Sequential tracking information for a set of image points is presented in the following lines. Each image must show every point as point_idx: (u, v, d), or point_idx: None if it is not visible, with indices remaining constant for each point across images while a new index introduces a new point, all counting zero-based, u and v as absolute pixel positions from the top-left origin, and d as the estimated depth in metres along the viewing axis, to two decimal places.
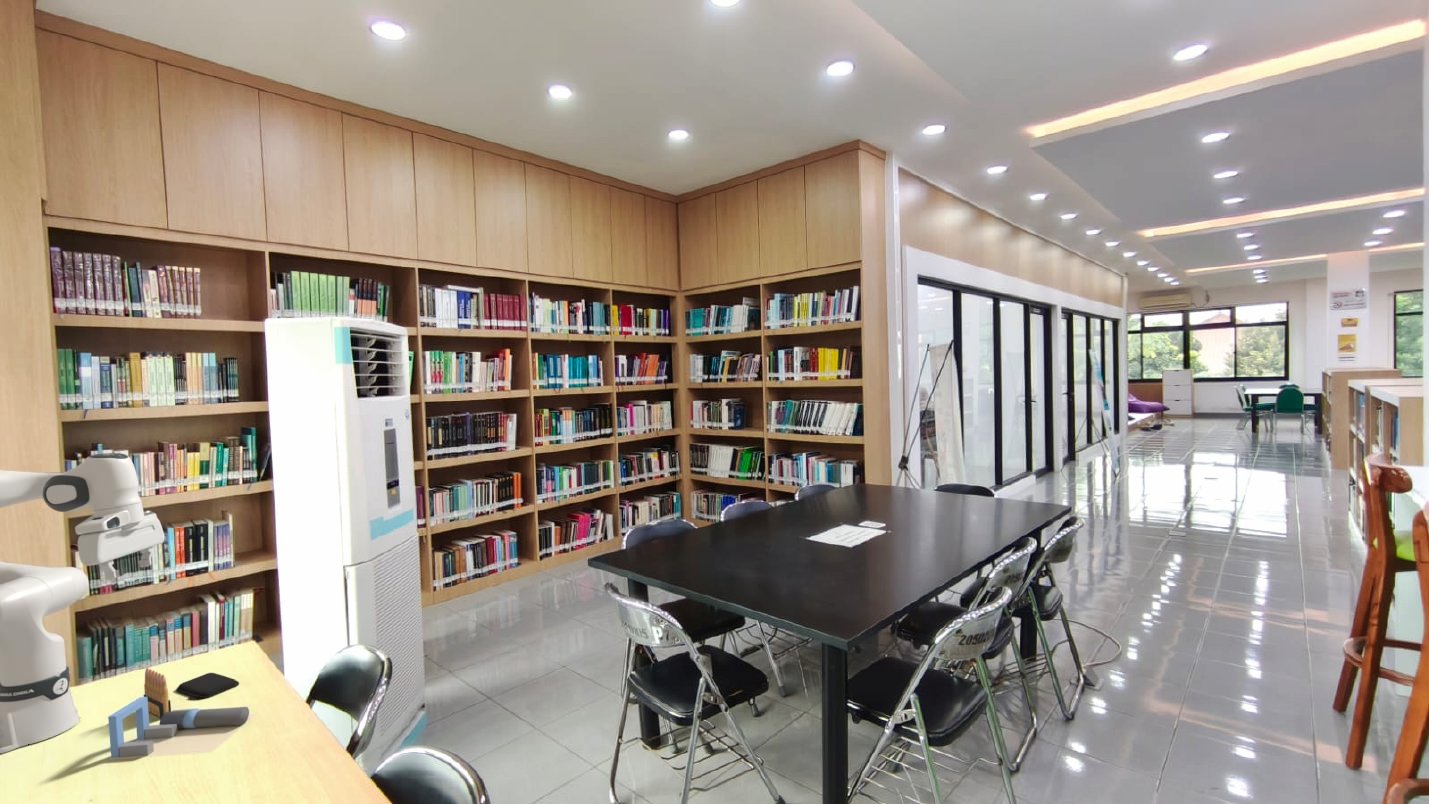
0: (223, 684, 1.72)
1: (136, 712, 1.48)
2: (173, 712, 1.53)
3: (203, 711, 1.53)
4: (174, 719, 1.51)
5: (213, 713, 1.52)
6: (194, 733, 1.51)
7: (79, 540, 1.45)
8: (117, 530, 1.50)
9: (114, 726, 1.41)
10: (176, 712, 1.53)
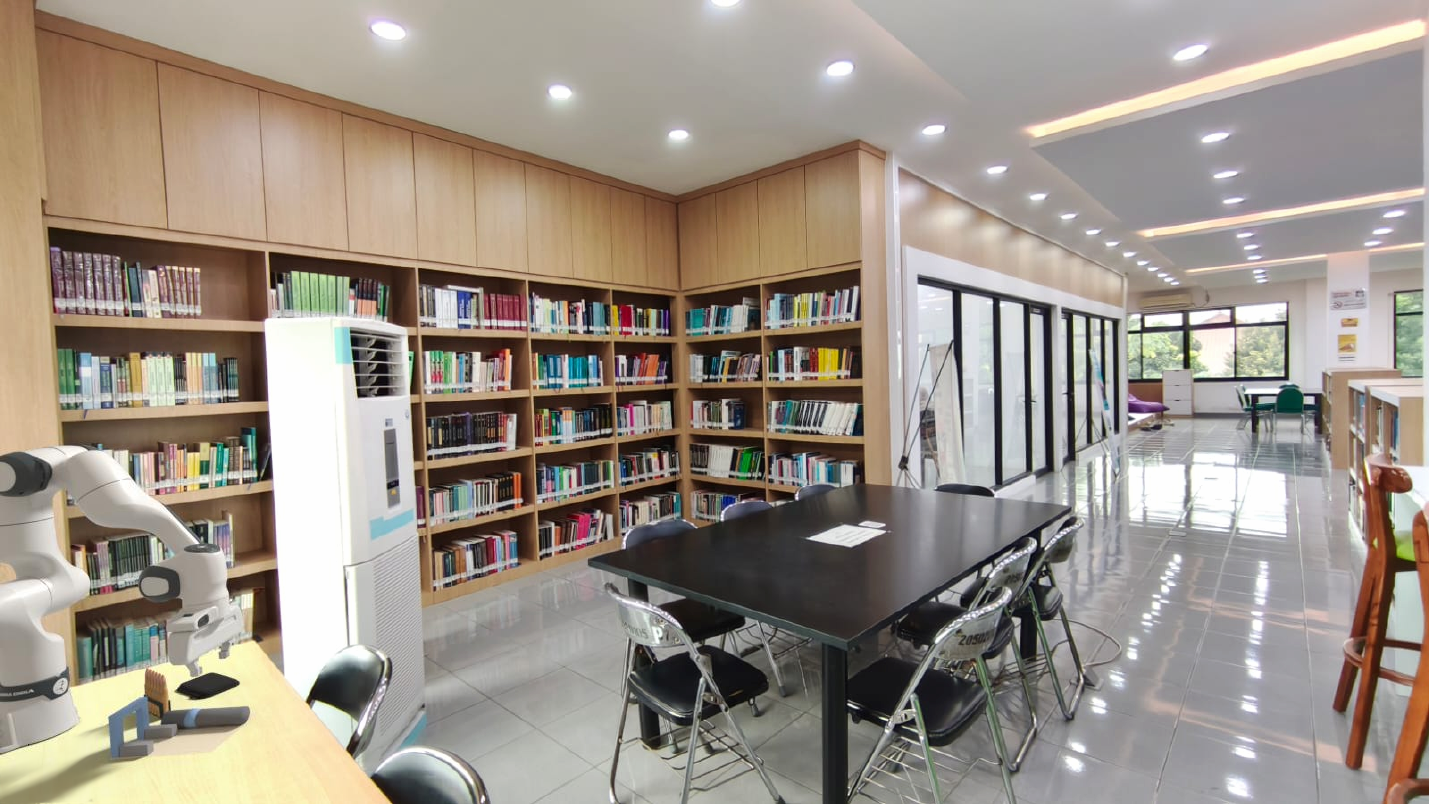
0: (224, 684, 1.72)
1: (136, 712, 1.48)
2: (175, 711, 1.54)
3: (205, 709, 1.54)
4: (176, 717, 1.52)
5: (215, 711, 1.53)
6: (194, 733, 1.51)
7: (169, 639, 1.43)
8: (205, 627, 1.48)
9: (114, 726, 1.41)
10: (178, 710, 1.53)
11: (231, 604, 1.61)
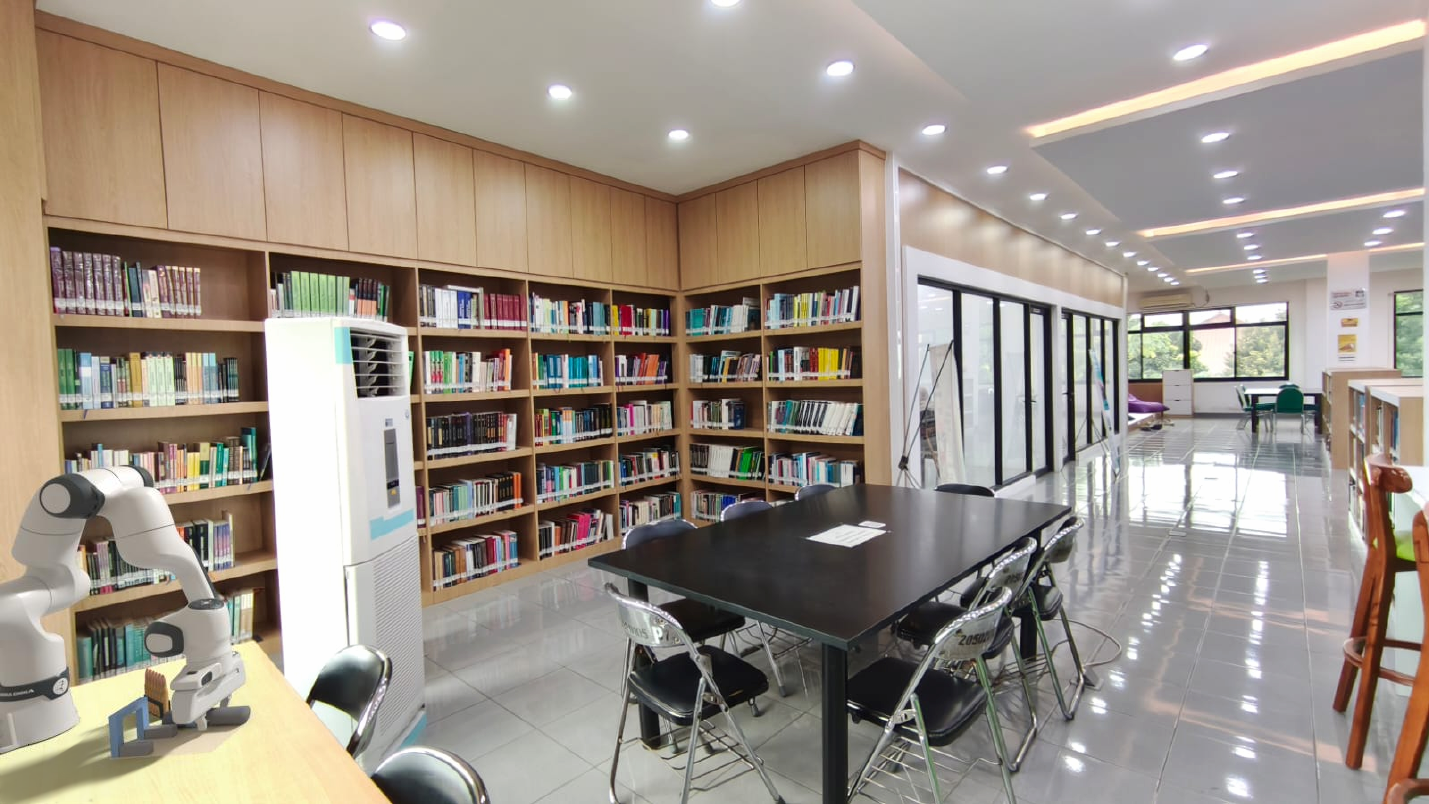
0: None
1: (136, 712, 1.48)
2: None
3: None
4: None
5: (216, 710, 1.54)
6: (194, 733, 1.51)
7: (173, 698, 1.44)
8: (209, 684, 1.49)
9: (114, 726, 1.41)
10: None
11: (234, 657, 1.61)
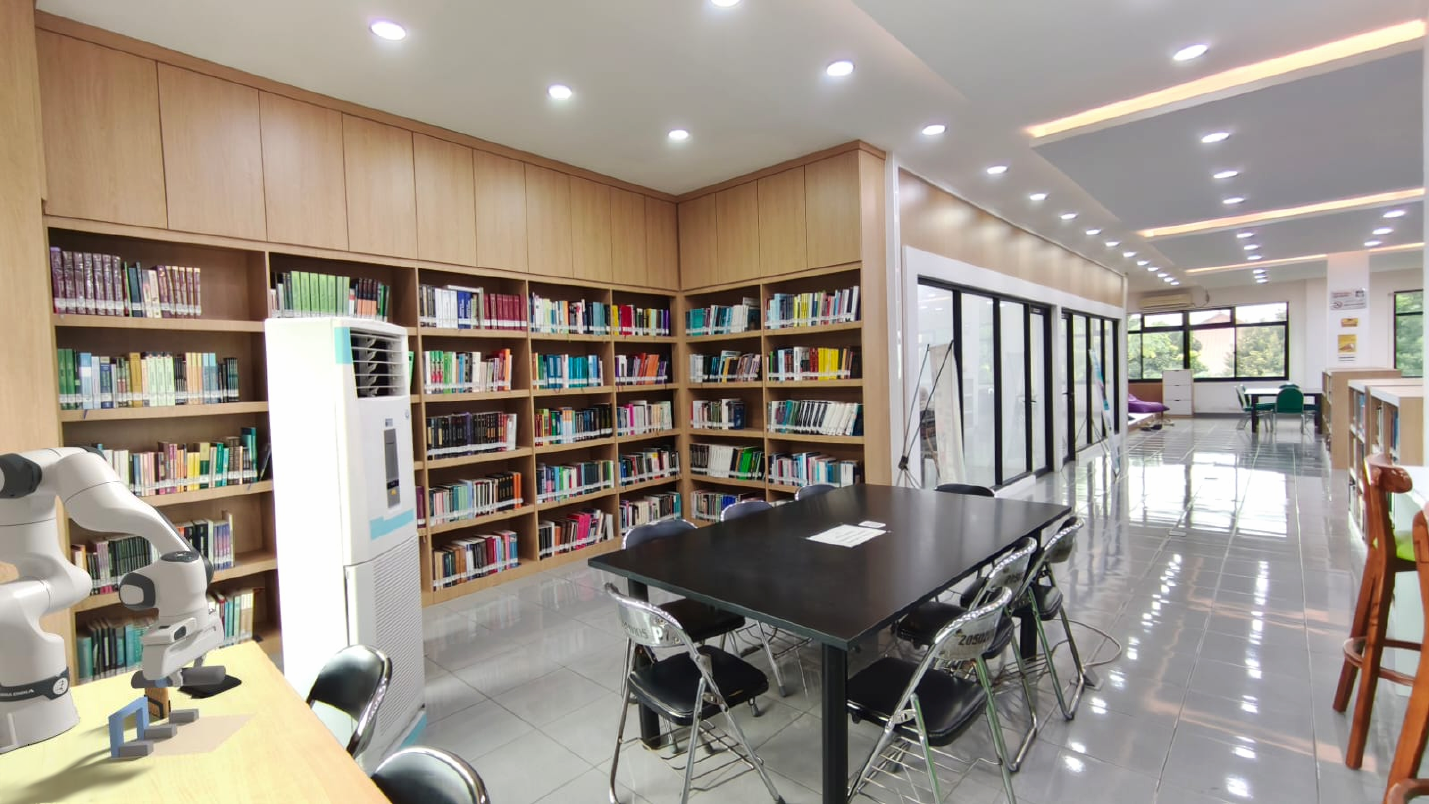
0: (226, 683, 1.73)
1: (136, 712, 1.48)
2: None
3: None
4: None
5: (187, 671, 1.45)
6: (194, 733, 1.51)
7: (144, 652, 1.36)
8: (182, 640, 1.41)
9: (114, 726, 1.41)
10: None
11: (211, 614, 1.54)
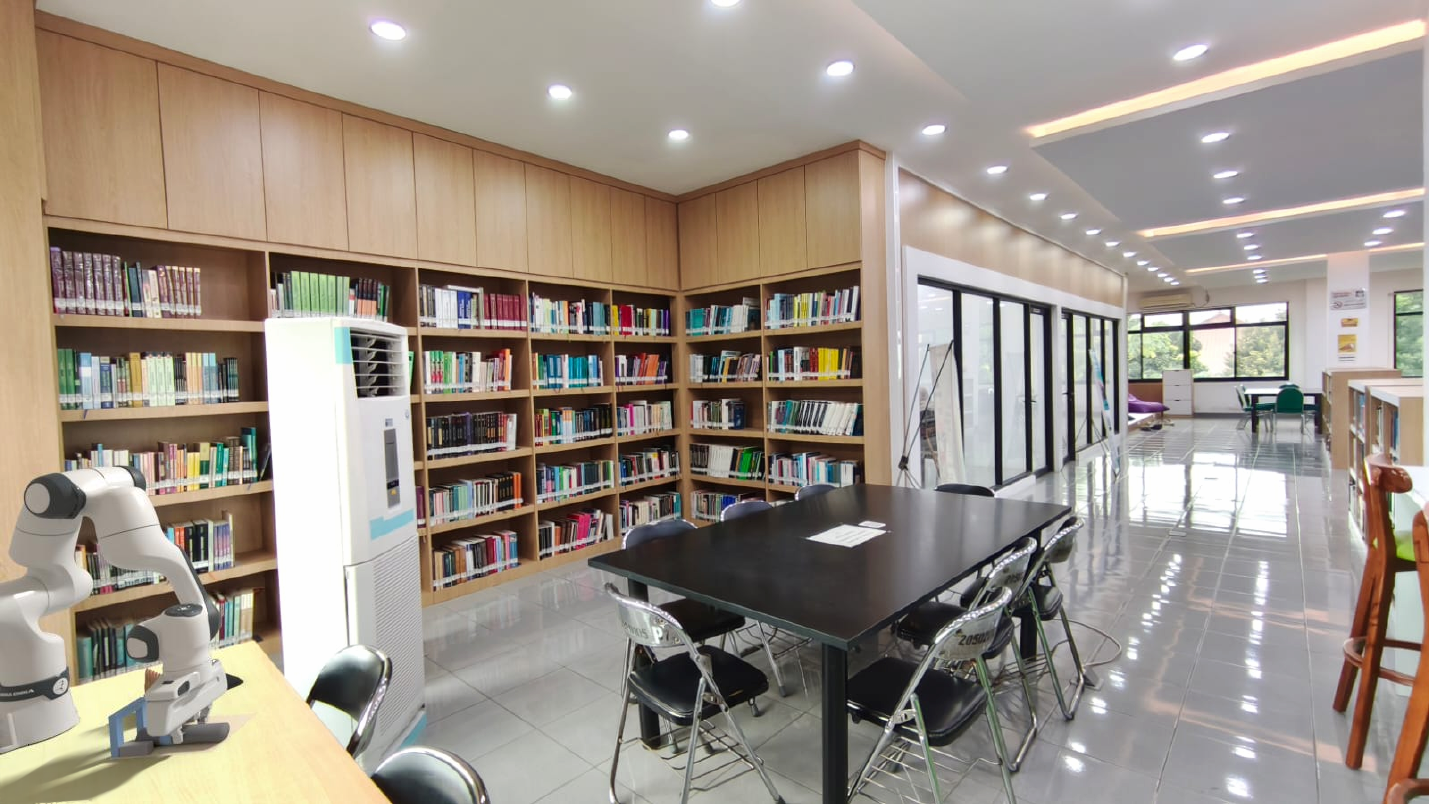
0: (228, 683, 1.73)
1: (136, 712, 1.48)
2: None
3: None
4: None
5: (192, 729, 1.46)
6: None
7: (147, 709, 1.37)
8: (186, 694, 1.42)
9: (114, 726, 1.41)
10: None
11: (214, 665, 1.54)
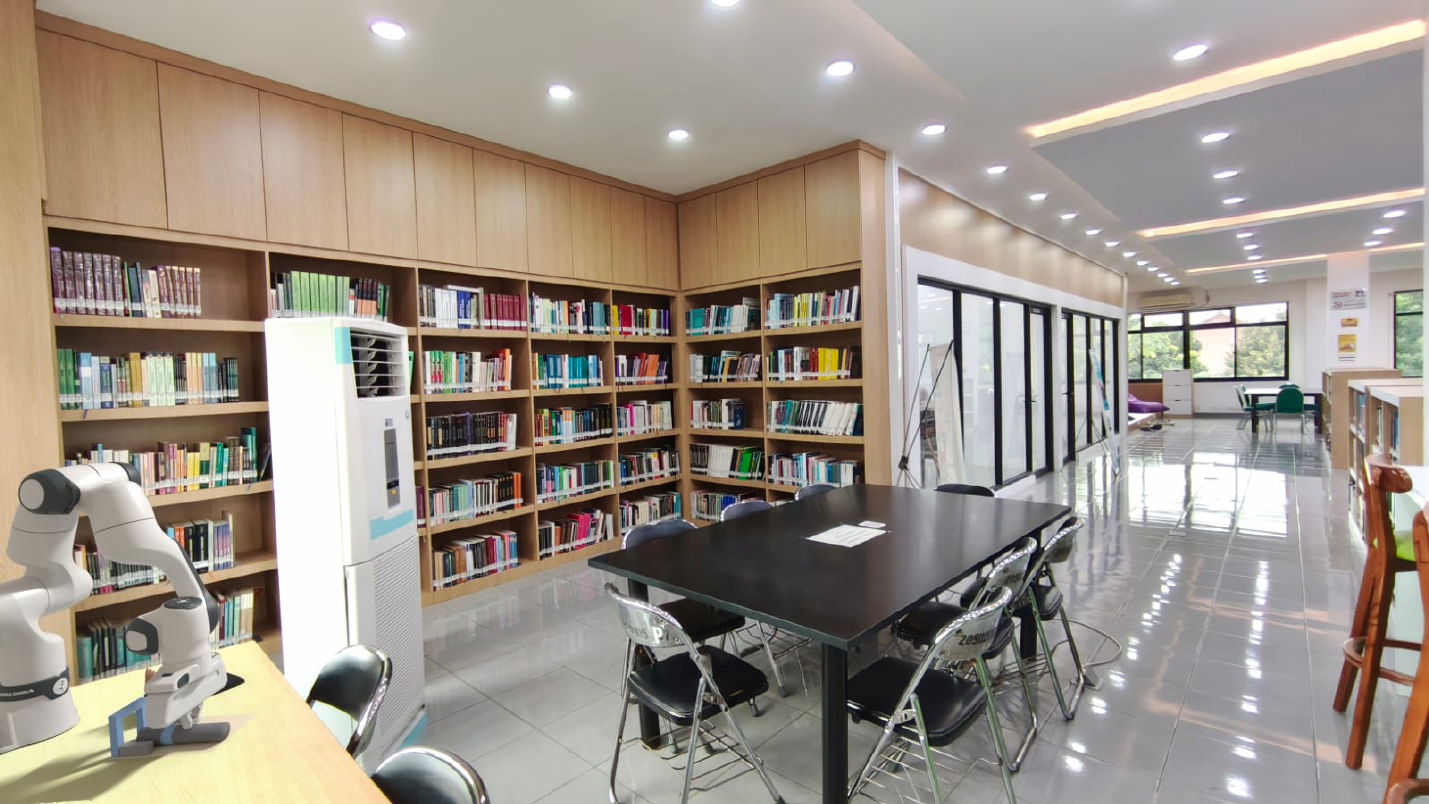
0: (229, 682, 1.73)
1: (136, 712, 1.48)
2: None
3: None
4: (151, 734, 1.45)
5: (193, 728, 1.46)
6: None
7: (147, 701, 1.37)
8: (186, 687, 1.42)
9: (114, 726, 1.41)
10: None
11: (214, 658, 1.54)
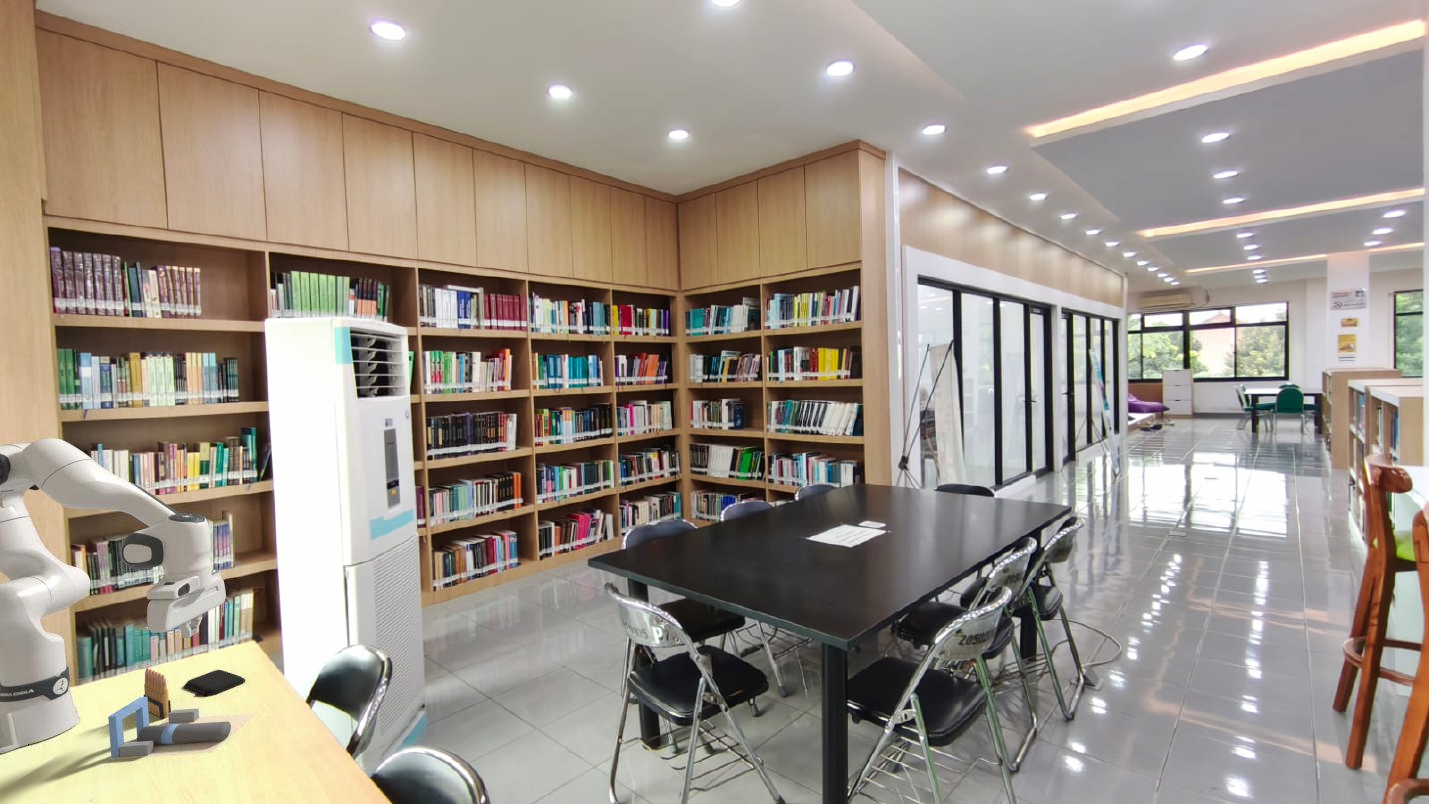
0: (230, 682, 1.73)
1: (136, 712, 1.48)
2: (153, 726, 1.47)
3: (184, 725, 1.47)
4: (153, 732, 1.45)
5: (194, 726, 1.46)
6: None
7: (149, 606, 1.44)
8: (186, 596, 1.49)
9: (114, 726, 1.41)
10: (156, 726, 1.47)
11: (214, 575, 1.61)
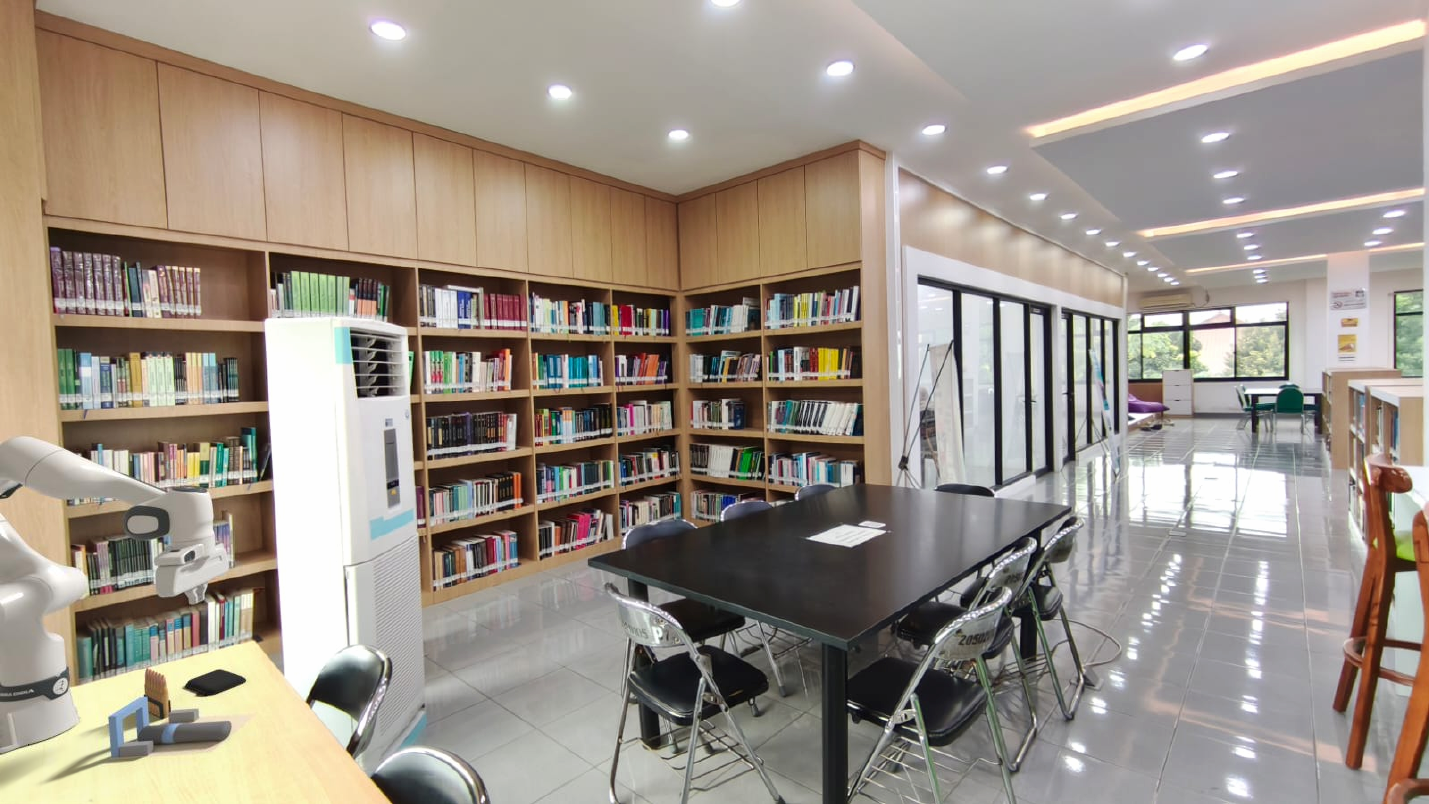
0: (231, 681, 1.74)
1: (136, 712, 1.48)
2: (154, 725, 1.47)
3: (186, 724, 1.47)
4: (154, 731, 1.45)
5: (195, 725, 1.47)
6: None
7: (157, 572, 1.51)
8: (192, 563, 1.56)
9: (114, 726, 1.41)
10: (158, 725, 1.47)
11: (217, 545, 1.68)
